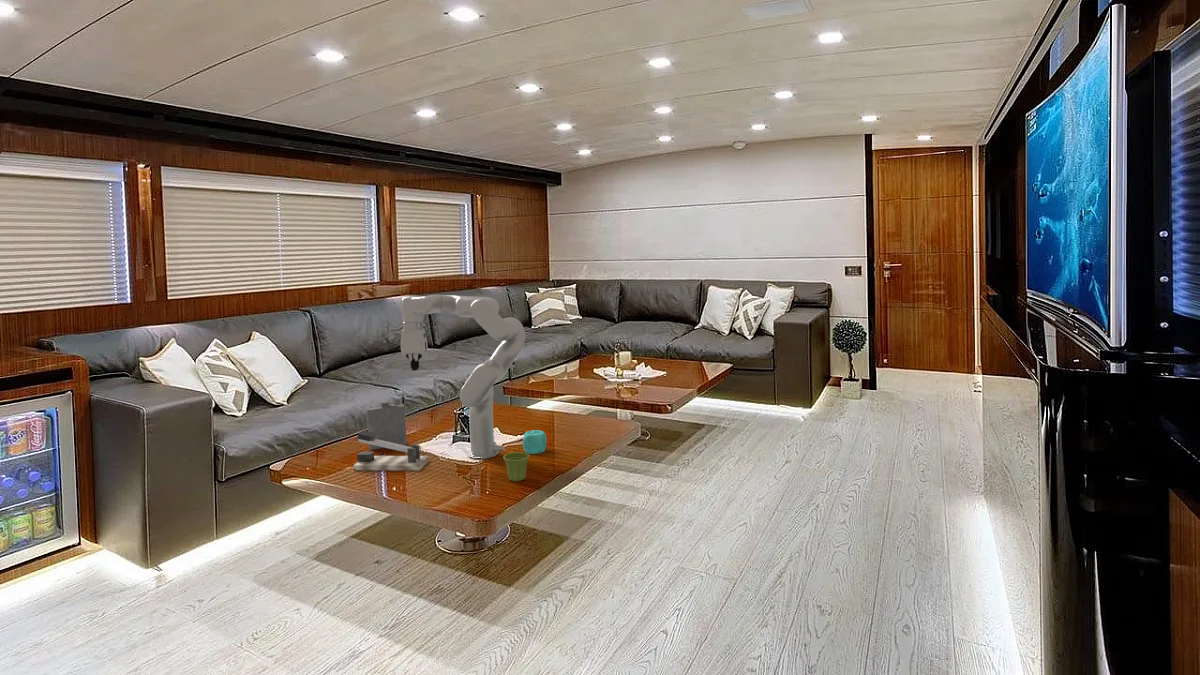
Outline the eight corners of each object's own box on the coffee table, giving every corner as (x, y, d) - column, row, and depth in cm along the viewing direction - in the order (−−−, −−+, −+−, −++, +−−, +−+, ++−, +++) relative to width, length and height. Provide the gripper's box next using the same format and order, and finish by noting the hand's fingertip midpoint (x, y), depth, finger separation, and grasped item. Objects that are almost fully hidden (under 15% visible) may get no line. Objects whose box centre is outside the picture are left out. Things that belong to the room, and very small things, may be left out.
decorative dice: (541, 454, 273) (540, 435, 272) (523, 453, 275) (522, 434, 274) (546, 448, 281) (546, 430, 280) (528, 448, 283) (528, 429, 282)
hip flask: (369, 450, 284) (366, 404, 282) (368, 447, 288) (365, 402, 285) (407, 444, 291) (404, 400, 289) (405, 442, 295) (403, 398, 292)
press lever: (415, 450, 264) (416, 442, 264) (411, 454, 259) (412, 445, 259) (362, 438, 265) (363, 430, 264) (356, 442, 260) (358, 433, 260)
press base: (429, 460, 268) (428, 442, 267) (419, 470, 256) (418, 451, 255) (366, 460, 270) (365, 442, 269) (353, 470, 258) (352, 451, 257)
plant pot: (529, 482, 240) (528, 459, 239) (503, 483, 239) (502, 460, 238) (530, 474, 249) (529, 451, 248) (505, 475, 249) (504, 452, 247)
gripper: (433, 324, 277) (435, 368, 279) (398, 325, 278) (400, 368, 280) (427, 326, 269) (429, 371, 272) (391, 327, 270) (394, 371, 273)
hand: (415, 369), depth 276 cm, fingers closed
